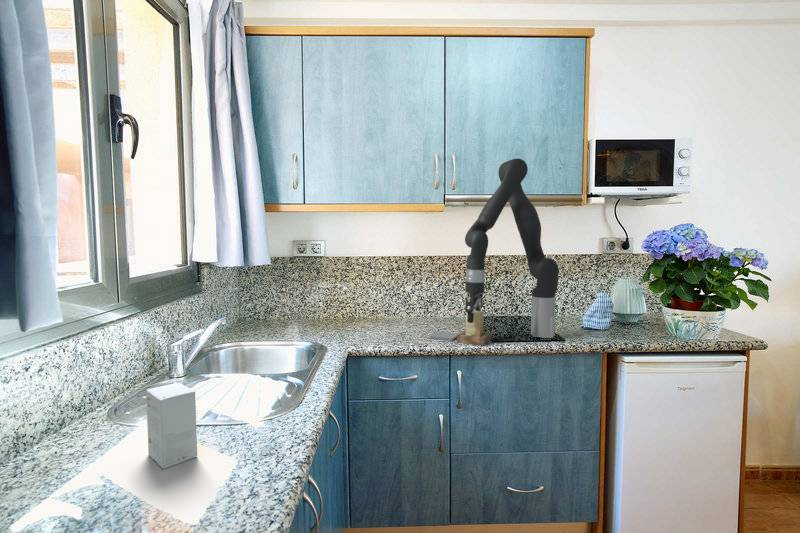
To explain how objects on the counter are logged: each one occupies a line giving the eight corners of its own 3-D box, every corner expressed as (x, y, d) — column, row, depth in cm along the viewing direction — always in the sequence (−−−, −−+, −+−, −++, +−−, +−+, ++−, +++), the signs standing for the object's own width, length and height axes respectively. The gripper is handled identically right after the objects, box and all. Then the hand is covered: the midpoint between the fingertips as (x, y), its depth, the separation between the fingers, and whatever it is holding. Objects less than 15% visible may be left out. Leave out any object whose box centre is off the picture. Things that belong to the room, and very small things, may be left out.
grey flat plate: (460, 335, 184) (460, 333, 184) (452, 341, 175) (452, 338, 175) (438, 333, 189) (438, 331, 189) (429, 338, 180) (429, 335, 180)
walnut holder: (491, 339, 177) (491, 332, 177) (483, 345, 168) (483, 338, 167) (465, 336, 182) (466, 329, 182) (456, 342, 173) (457, 335, 172)
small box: (198, 457, 84) (196, 391, 83) (162, 470, 79) (159, 400, 78) (181, 443, 89) (179, 381, 88) (147, 454, 85) (144, 389, 84)
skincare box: (464, 341, 175) (465, 311, 174) (468, 339, 178) (468, 309, 177) (480, 343, 172) (480, 312, 171) (483, 341, 175) (484, 311, 174)
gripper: (478, 282, 165) (477, 325, 166) (489, 279, 178) (488, 319, 179) (459, 281, 169) (458, 322, 170) (471, 278, 181) (470, 317, 182)
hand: (473, 320), depth 174 cm, fingers open, 8 cm apart
